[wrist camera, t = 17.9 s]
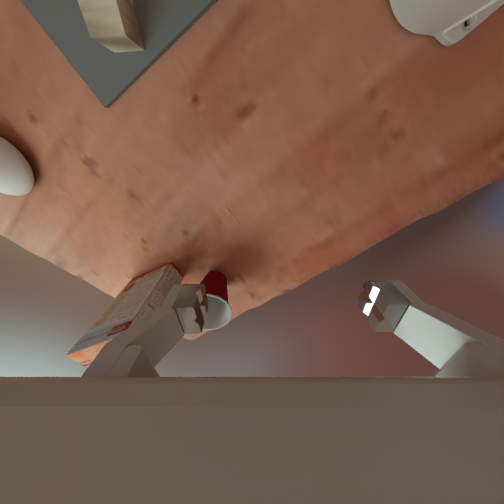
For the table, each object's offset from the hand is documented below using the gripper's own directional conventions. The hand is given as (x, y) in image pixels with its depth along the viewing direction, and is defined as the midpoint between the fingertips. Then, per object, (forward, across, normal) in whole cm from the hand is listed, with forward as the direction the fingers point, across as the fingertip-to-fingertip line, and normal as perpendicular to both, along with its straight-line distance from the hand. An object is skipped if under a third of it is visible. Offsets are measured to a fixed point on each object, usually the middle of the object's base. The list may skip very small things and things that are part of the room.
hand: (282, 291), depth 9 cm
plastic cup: (+31, +13, +25) cm, 42 cm away
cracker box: (+31, +29, +24) cm, 49 cm away
